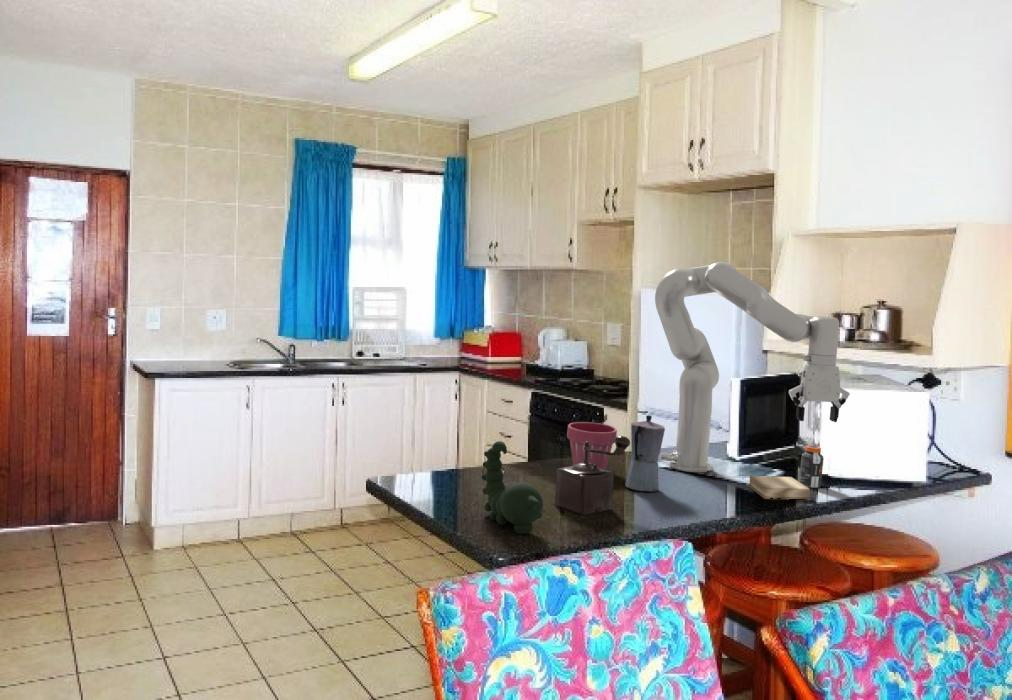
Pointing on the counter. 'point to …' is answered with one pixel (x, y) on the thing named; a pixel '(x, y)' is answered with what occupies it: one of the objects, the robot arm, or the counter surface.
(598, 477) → the coffee grinder
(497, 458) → the toy figurine
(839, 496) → the counter surface
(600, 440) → the plant pot
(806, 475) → the pill bottle
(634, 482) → the moka pot
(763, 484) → the base
